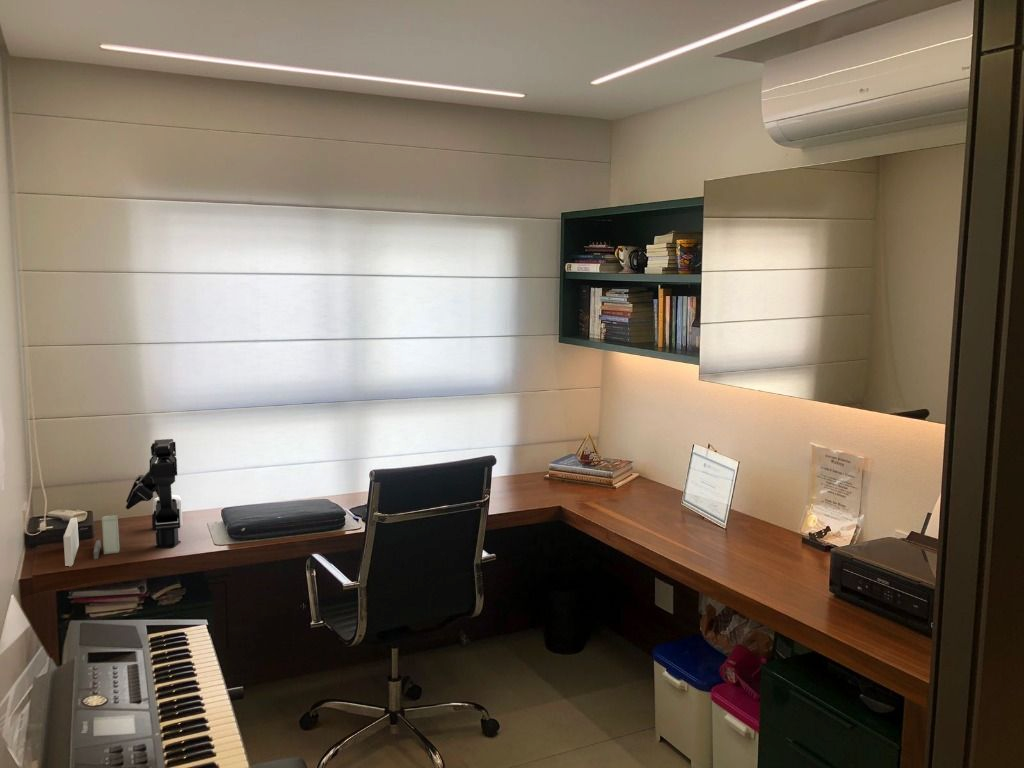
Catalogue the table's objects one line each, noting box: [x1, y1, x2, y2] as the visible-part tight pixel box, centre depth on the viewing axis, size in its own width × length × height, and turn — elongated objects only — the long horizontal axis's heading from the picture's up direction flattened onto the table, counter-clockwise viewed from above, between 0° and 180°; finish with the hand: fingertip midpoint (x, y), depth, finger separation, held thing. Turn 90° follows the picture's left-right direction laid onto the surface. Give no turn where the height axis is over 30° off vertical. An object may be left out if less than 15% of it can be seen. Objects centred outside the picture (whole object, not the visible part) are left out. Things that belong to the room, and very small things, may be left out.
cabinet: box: [101, 514, 120, 555], centre depth 283 cm, size 5×5×12 cm
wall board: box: [63, 517, 102, 567], centre depth 280 cm, size 9×24×10 cm, turn 23°
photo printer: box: [152, 494, 183, 527], centre depth 313 cm, size 10×4×12 cm, turn 123°
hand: (126, 505), depth 293 cm, fingers open, 9 cm apart
